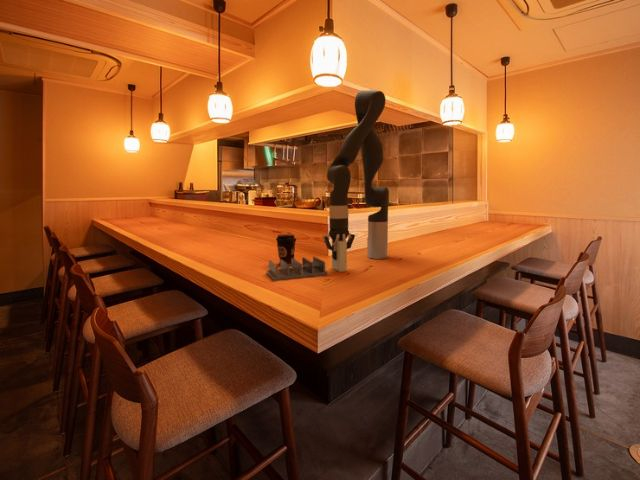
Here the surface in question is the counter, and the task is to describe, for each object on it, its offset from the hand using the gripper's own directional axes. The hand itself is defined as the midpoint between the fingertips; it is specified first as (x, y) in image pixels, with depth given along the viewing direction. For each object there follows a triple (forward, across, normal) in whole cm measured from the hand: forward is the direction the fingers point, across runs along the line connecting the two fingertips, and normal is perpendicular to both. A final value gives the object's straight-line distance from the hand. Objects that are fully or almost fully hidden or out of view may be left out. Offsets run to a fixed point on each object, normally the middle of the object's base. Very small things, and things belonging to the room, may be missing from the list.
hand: (339, 259), depth 137 cm
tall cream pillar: (+4, 0, 0) cm, 4 cm away
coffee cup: (+5, +17, -19) cm, 26 cm away
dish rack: (+4, +18, 0) cm, 18 cm away
